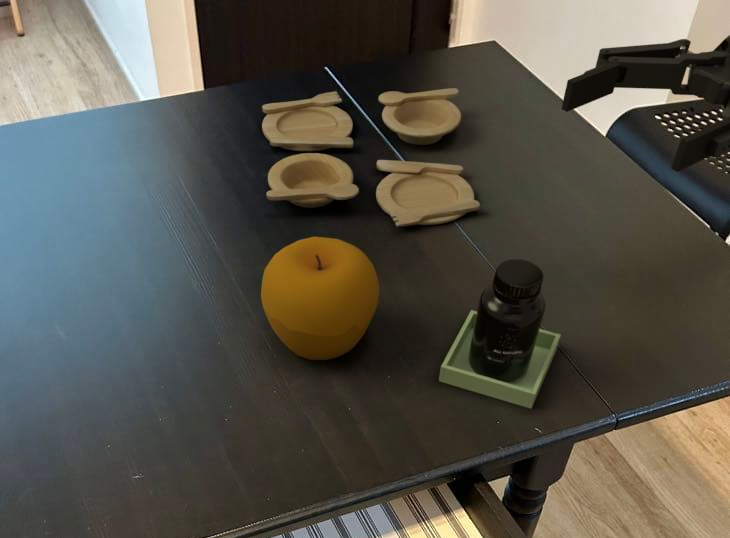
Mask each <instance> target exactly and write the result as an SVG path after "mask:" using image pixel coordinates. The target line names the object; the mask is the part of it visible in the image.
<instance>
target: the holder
mask: <svg viewBox="0 0 730 538" xmlns="http://www.w3.org/2000/svg"><path fill="white" fill-rule="evenodd" d="M476 315H477V310H473V309H471V310H470V312H469V314H468V315H467V317H466V319H465V321H464V322H463V325H462V327H461V328H460V330H459V331H458V334H457V336H456V338H455V339H454V341H453V343H452V345H451V347H450V349H449V351H448V352H447V354H446V356H445V358H444V360H443V362H442V364H441V366H440V369H439V376H438V382H441V383H444V384H448V385H451V386H454V387H457V388H461V389H464V390H468V391H471V392H473V393H477V394H481V395H484V396H486V397H487V396H488V397H490V398H494V399H496V400H501V401H505V402H507V403H511V404H514V405H518V406H520V407H524V408H527V409H530V410H532V409H533V406H534V404H535V402H536V399H537V397H538V395H539V392H540V390H541V388H542V385H543V383H544V381H545V379H546V376H547V373H548V372H549V369H550V366H551V364H552V361H553V359H554V357H555V355H556V352H557V349H558V346H559V343H560V340H561V336H562V335H561V333H556V332H553V331H549V330H545V329H542V328H540V330H539V333H538V337H537V340H536V344H535V347H534V351H533V355H532V358H531V361H530V365H529V368H528V370H527V372H526V373H525V374H524V375H523V376H522V377H520V378H519V379H517V380H514V381H511V382H502V381H499V380H495V379H492V378H489V377H485V376H482V375H478V374H476V373H475V372H474V371H473V369H472V368H471V366H470V364H469V360H468V356H469V350H470V344H471V339H472V335H473V330H474V325H475V320H476Z"/></svg>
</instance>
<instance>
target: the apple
mask: <svg viewBox="0 0 730 538" xmlns="http://www.w3.org/2000/svg"><path fill="white" fill-rule="evenodd" d="M261 279H262V280H261V289H260V298H261V304H262V308H263V310H264V313H265V316H266V318H267V320H268V323H269V325H270V327H271V329H272V331H273V332H274V333H275V334H276V336H277V337H278V338H279V340H280V341H281V343H283V344H284V345H285V346H286V347H287V349H288V350H290V351H291V352H293V353H294V355H296V356H298V357H300V358H304V359H307V360H309V361H328V360H332V359H335V358H339V357H341V356H343V355H345V354H347V353H348V352H350V351H351V350H353V348H354V347H355V346H356V345H358V343H359V341H360V340H361V339H362V338H363V337H364V335H365V334H366V331H367V329H368V328H369V325H370V323H371V321H372V319H373V316H374V315H375V312H376V310H377V307H378V305H379V296H380V287H381V286H380V282H379V279H378V275H377V272H376V269H375V266H374V264H373V263H372V261H371V260H370V258H369V257H368V256H367V255H366V254H365V253H364V252H363V251H362V250H361V249H360V248H358V247H357V246H356V245H353V244H351V243H348V242H346V241H344V240H342V239H340V238H333V237H322V236H311V237H306V238H303V239H298V240H296V241H295V242H293V243H290V244H288V245H287V246H284V247H283V248H282V249H280V250H279V251H277V252H276V253H275V254H273V256H272V258H271V259H270V260H269V262H268V264H267V265H266V267H265V268H264V271H263V275H262V278H261Z"/></svg>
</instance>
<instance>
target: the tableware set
mask: <svg viewBox="0 0 730 538" xmlns="http://www.w3.org/2000/svg"><path fill="white" fill-rule="evenodd" d="M457 97H459V89H458V88H456V87H449V88H441V89H435V90H427V91H420V92H409V93H406V92H401V91H398V90H397V91H394V90H392V91H391V90H390V91H385V92H383V93H381V94H380V95H379V96H378V98H377V99H378V102H379V103H381V104H382V105H384V107H383V110H382V112H381V118H382V121H383V123H384V125H385V126H386V127H387V128H388V129H390V130H391V131H392V132H394V133H396V135H397V137H398V138H399V139H400V140H401V141H403V142H405V143H407V144H412V145H416V146H417V145H419V146H426V145H427V146H428V145H432V144H435V143H437V142H439V141H440V140H441V139H442V138H443V137H444V136H445V135H448V134H450V133H452V132H454V130H456V129H457V127H459V125H460V124H461V121H462V114H461V110H460V109H459V108H458V106H456V105H455V104H454V103H452V102H451V101H450V100H447V99H455V98H457ZM342 102H343V99H342V98H341V96H340V95H339V93H338V92H337V91H336V90H335V91H329V92H324V93H319V94H317V95H315V96H314V97H311V98H307V99H300V100H292V101H282V102H272V103H265V104H263V105H262V106H261V108H262V112H263V113H264V114H265V116H264V118H263V120H262V123H261V130H262V133H263V135H264V137H265V138H266V139H267V141H269V145H270V146H272V147H279V148H282V149H284V150H289V151H292V152H293V151H294V152H304V153H298V154H293V155H289V156H286V157H284V158H282V159H280V160H279V161H277V162H276V163H275V164H273V166H271V168H270V169H269V171H268V174H267V182H268V186H269V188H270V190H268V191H267V192H266V199H267V200H269V201H273V202H274V201H275V202H276V201H288V202H290V203H292V205H295V206H298V207H301V208H308V209H313V208H320V207H324V206H327V205H329V204H330V203H332V202H333V201H334V200H338V201H341V200H342V201H344V200H350V199H353V198H355V197H356V196H358V194H359V193H360V191H359V190H360V188H359V186H357V185H356V184H354V173H353V170H352V168H351V167H350V165H348V164H347V163H346V162H345V161H344V160H341V159H339V158H338V157H336V156H333V155H329V154H326V153H318V151H324V150H329V149H333V148H334V149H353V148H354V140H353V138H352V137H350V136H351V134H352V132H353V127H354V126H353V124H354V123H353V120H352V118H351V116H350V114H348V112H346V111H345V110H343V109H341V108H339V107H337V106H335V105H337V104H340V103H342ZM376 169H377V170H378V171H381V172H388V173H390V174H388V175H386V176H385V177H384V178H383V179H382V180H381V181H380V182H379V183H378V184H377V187H376V190H375V198H376V202H377V204H378V206H379V207H380V208H381V210H382V211H383V212H384V213H386V214H387V215H389V216H390V218H392V221H393V222H394V224H395V226H396V227H397V228H400V227H401V228H403V227H410V226H415V225H419V226H433V225H434V226H435V225H442V224H446V223H449V222H453V221H455V220H457V219H459V218H461V217H463V216H465V215H466V214H467V213H471V212H476V211H479V210H480V207H481V206H480V205H481V203H480V202H479V201H478V200H476V199H475V192H474V190H473V187H472V186H471V185H470V184H469V182H468V181H467V180H466V179H464V178H463V177H462V176H460V175H461V174H463V172H464V167H463V166H462V165H459V164H449V163H437V162H436V163H435V162H421V161H407V160H406V161H405V160H390V159H377V161H376Z"/></svg>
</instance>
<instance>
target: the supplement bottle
mask: <svg viewBox="0 0 730 538" xmlns="http://www.w3.org/2000/svg"><path fill="white" fill-rule="evenodd" d="M543 281H544V272H543V270H542V268H541V267H540V266H538V264H537V263H535V262H533V261H530V260H526V259H521V258H510V259H506V260H503V261H502V262H500V263H499V264H498V265H497V267H496V269H495V272H494V277H493V279H492V282H491V284H489V285H488V286H487V287H485V289H484V290H483V291H482V293H481V295H480V297H479V301H478V304H477V310H476V311H477V315H476V320H475V325H474V330H473V335H472V339H471V344H470V350H469V356H468V360H469V364H470V366H471V368H472V369H473V371H474V372H475V373H476V374H478V375H482V376H485V377H489V378H492V379H495V380H499V381H502V382H511V381H514V380H517V379H519V378H520V377H522V376H523V375H524V374H525V373H526V372H527V370H528V368H529V365H530V361H531V358H532V355H533V351H534V347H535V344H536V340H537V337H538V333H539V330H540V329H541V326H542V322H543V320H544V315H545V311H546V300H545V299H544V296H543V293H542V292H541V291H542V285H543Z"/></svg>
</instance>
